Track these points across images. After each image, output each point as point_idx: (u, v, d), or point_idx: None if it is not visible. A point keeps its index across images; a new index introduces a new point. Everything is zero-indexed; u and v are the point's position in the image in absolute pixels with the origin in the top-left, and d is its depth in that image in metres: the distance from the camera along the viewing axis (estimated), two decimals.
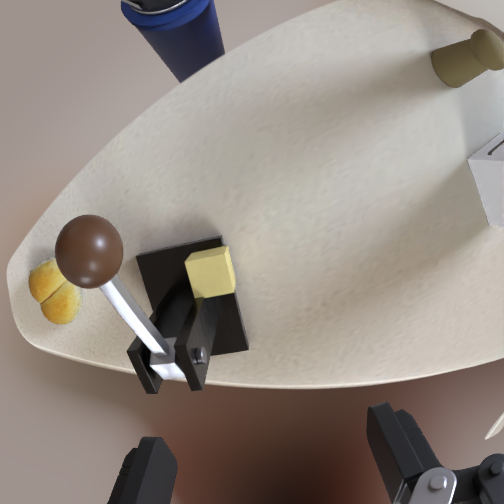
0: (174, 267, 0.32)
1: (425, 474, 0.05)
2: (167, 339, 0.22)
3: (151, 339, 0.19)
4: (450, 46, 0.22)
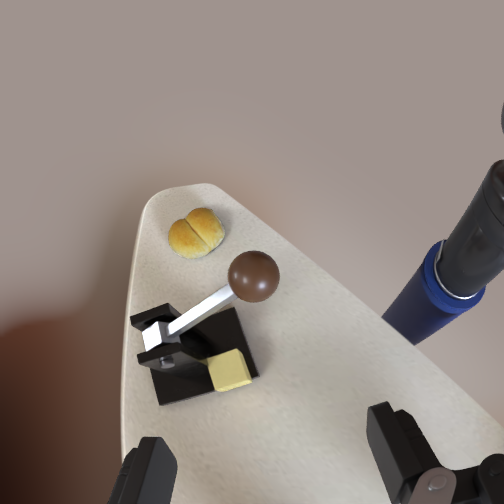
0: (228, 340, 0.37)
1: (425, 474, 0.05)
2: (178, 336, 0.27)
3: (182, 324, 0.25)
4: None
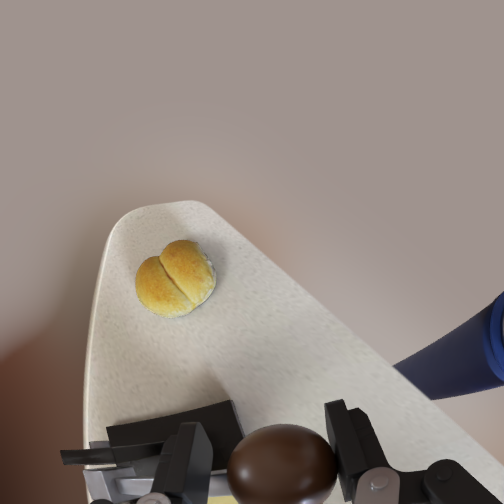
0: (222, 447, 0.22)
1: (368, 472, 0.06)
2: None
3: (142, 492, 0.10)
4: None
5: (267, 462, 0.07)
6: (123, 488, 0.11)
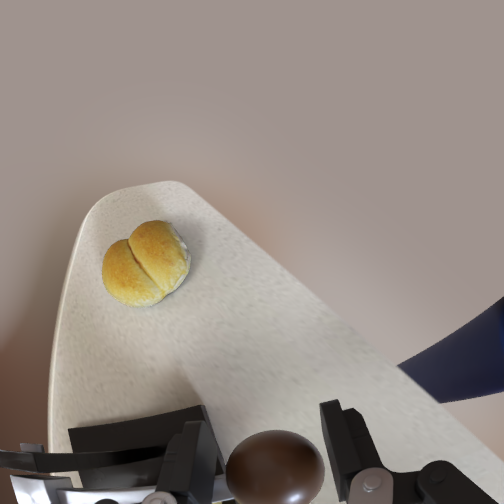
0: None
1: (361, 473, 0.06)
2: None
3: None
4: None
5: (285, 456, 0.08)
6: (69, 501, 0.07)
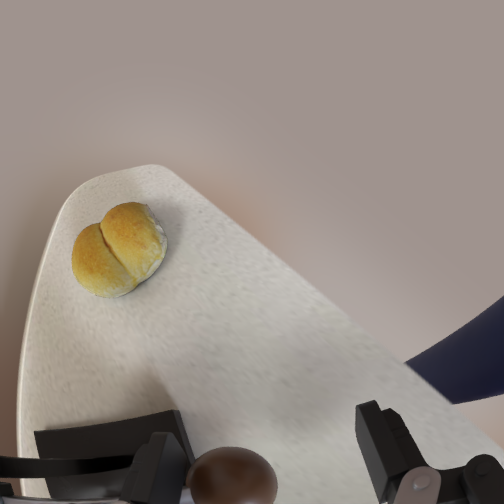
0: None
1: (409, 473, 0.05)
2: None
3: None
4: None
5: (250, 466, 0.09)
6: None
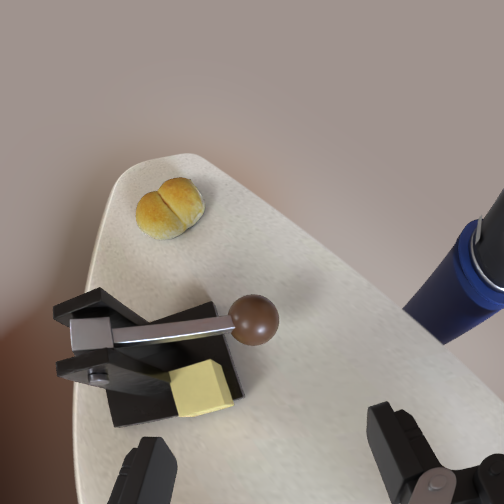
0: (203, 346, 0.27)
1: (425, 474, 0.05)
2: None
3: (149, 336, 0.18)
4: None
5: (264, 299, 0.22)
6: (123, 336, 0.17)
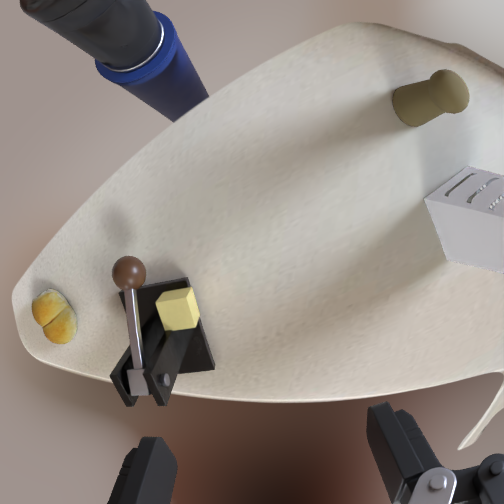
0: (149, 302, 0.37)
1: (425, 474, 0.05)
2: None
3: (136, 345, 0.28)
4: (410, 86, 0.28)
5: (115, 266, 0.30)
6: (137, 362, 0.28)
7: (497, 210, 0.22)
